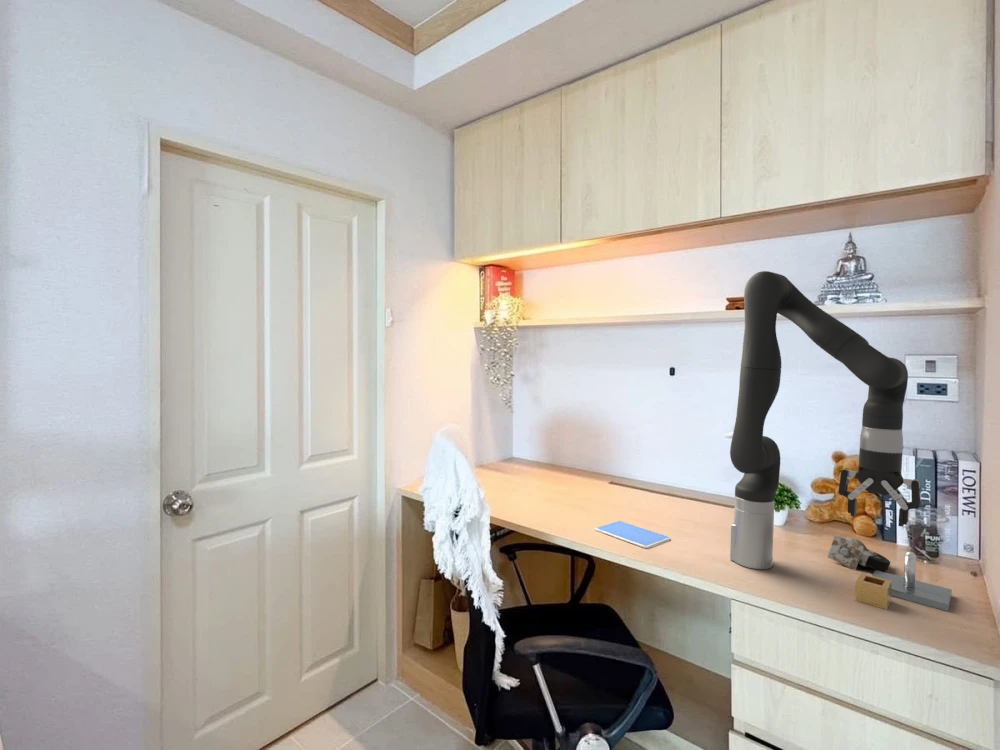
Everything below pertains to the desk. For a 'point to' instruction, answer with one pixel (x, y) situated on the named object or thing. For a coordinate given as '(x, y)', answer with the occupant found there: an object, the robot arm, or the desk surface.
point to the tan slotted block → (873, 590)
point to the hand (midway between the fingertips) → (876, 520)
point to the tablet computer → (633, 534)
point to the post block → (916, 586)
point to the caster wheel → (856, 554)
